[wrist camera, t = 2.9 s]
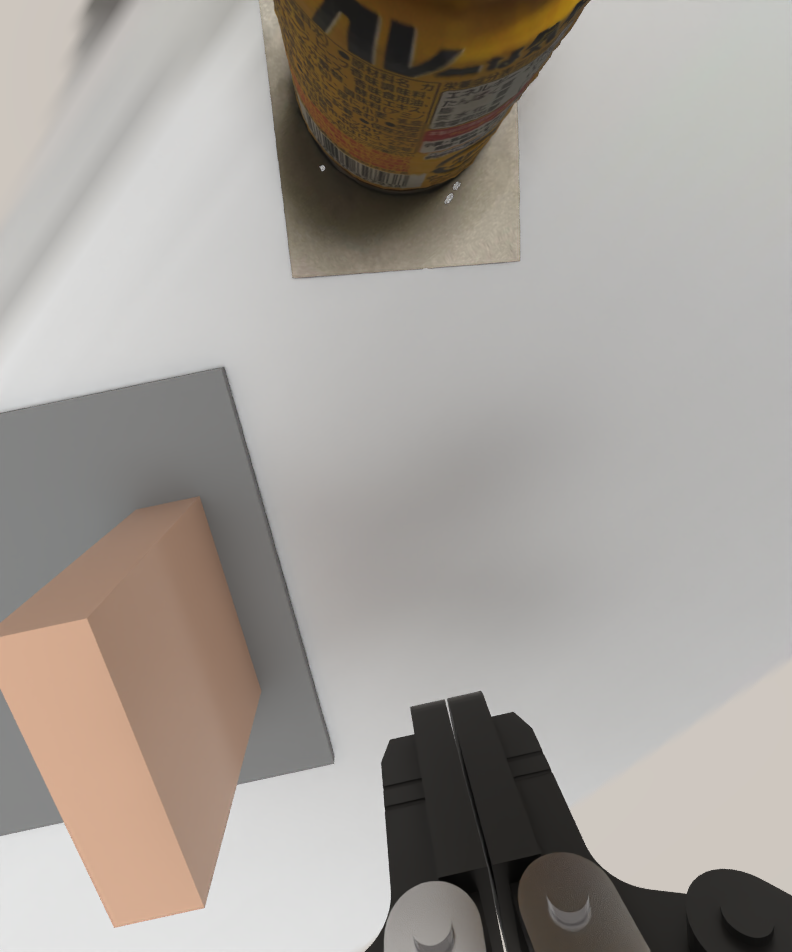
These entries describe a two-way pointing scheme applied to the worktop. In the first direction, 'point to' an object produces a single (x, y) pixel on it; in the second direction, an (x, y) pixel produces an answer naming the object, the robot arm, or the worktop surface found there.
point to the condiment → (403, 126)
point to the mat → (111, 501)
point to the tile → (137, 706)
